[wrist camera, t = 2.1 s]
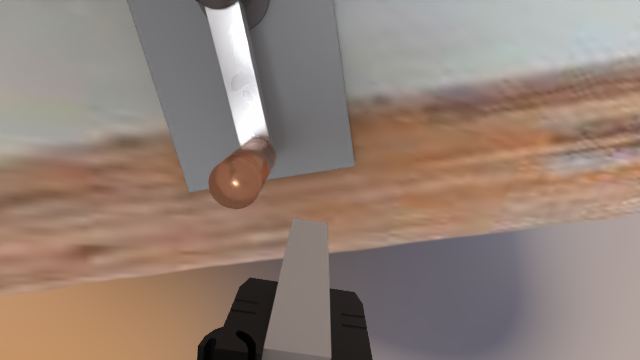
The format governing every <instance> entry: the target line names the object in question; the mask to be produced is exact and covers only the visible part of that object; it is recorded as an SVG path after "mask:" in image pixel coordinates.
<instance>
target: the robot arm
mask: <svg viewBox="0 0 640 360" xmlns="http://www.w3.org/2000/svg"><path fill="white" fill-rule="evenodd" d="M197 360H372V354H371V349H370V343H369V337H368V332H367V326H366V321H365V315H364V309H363V304H362V302H361V301H360V299H359V298H358V296H357V295H356V294H355V292H350V291H343V290H337V289H330V288H329V256H328V224H327V223H321V222H314V221H308V220H302V219H295V218H293V220H292V224H291V229H290V233H289V238H288V242H287V246H286V251H285V255H284V260H283V265H282V269H281V273H280V277H279V282H276V281H269V280H262V279H256V278H249V279H248V280H247V281H246V282H245V283H244V284H242V285H241V286H240V287H239V290H238V292H237V295H236V297H235V300H234V302H233V304H232V307H231V310H230V312H229V314H228V317H227V319H226V321H225V324H224V326H223V327H221V328H218V329H215V330H213V331H212V332H210V333H209V334H208V335H206V336H205V337H204V338H203V340H202V341H201V343H200V344H199V345H198V356H197Z"/></svg>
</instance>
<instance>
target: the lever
mask: <svg viewBox="0 0 640 360" xmlns="http://www.w3.org/2000/svg"><path fill="white" fill-rule="evenodd" d="M195 1H197V2H198V3H200V4H201V5H203V6H205V9H206V13H207V17H208V21H209V25H210V29H211V33H212V37H213V41H214V45H215V48H216V52H217V56H218V60H219V64H220V68H221V72H222V76H223V80H224V84H225V88H226V92H227V96H228V100H229V104H230V107H231V111H232V115H233V119H234V123H235V127H236V131H237V135H238V139H239V143H240V147H239V148H238V149H237V150H235V151H234V152H233V153H232V154H231V155H229V156H228V157H227V158H226V159H224V160H223V161H222V162H221V163H220V164H218V165H217V166H216V167H215V168H214V169H213V170H212V171H211V173H210V176H209V180H208V185H209V190H210V193H211V194H212V196H213V198H214V199H215V200H216V201H217V202H218V203H220V204H221V205H223V206H225V207H228V208H232V209H240V208H244V207H247V206H249V205H250V204H252V203H253V202H254V200H255V199H256V198H257V196H258V194H259V192H260V190H261V189H262V187H263V185H264V183H265V181H266V180H267V178H268V176H269V174H270V173H271V171H272V169H273V167H274V165H275V163H276V152H275V147H274V143H273V138H272V134H271V129H270V124H269V120H268V115H267V111H266V106H265V101H264V97H263V92H262V88H261V83H260V78H259V74H258V69H257V65H256V60H255V56H254V51H253V46H252V42H251V37H250V33H249V28H248V23H247V19H246V14H245V10H244V4H245V2H246V1H247V0H195Z"/></svg>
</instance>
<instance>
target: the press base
mask: <svg viewBox="0 0 640 360" xmlns="http://www.w3.org/2000/svg"><path fill="white" fill-rule="evenodd" d="M127 2H128V5H129V8H130V11H131V14H132V17H133V20H134V23H135V26H136V29H137V32H138V36H139V39H140V42H141V45H142V48H143V51H144V54H145V57H146V60H147V63H148V66H149V69H150V72H151V76H152V79H153V82H154V85H155V88H156V91H157V94H158V97H159V100H160V103H161V106H162V109H163V112H164V116H165V119H166V122H167V125H168V128H169V131H170V134H171V137H172V140H173V143H174V146H175V149H176V153H177V156H178V159H179V162H180V165H181V168H182V171H183V174H184V177H185V180H186V183H187V186H188V189H189V192H194V191H200V190H206V189H209V185H208V180H209V176H210V173H211V171H212V170H213V169H214V168H215V167H216V166H217V165H218V164H220V163H221V162H222V161H223V160H224V159H226V158H227V157H228V156H229V155H231V154H232V153H233V152H234V151H235V150H237V149H238V148H239V147H240V143H239V139H238V135H237V131H236V127H235V123H234V119H233V115H232V111H231V107H230V104H229V100H228V96H227V92H226V88H225V84H224V80H223V76H222V72H221V68H220V64H219V60H218V56H217V52H216V48H215V45H214V41H213V37H212V33H211V29H210V25H209V21H208V17H207V13H206V9H205V6H203V5H201V4H200V3H198V2H197V1H195V0H127ZM244 10H245V14H246V19H247V23H248V28H249V33H250V37H251V42H252V46H253V51H254V56H255V60H256V65H257V69H258V74H259V78H260V83H261V88H262V92H263V97H264V101H265V106H266V111H267V115H268V120H269V124H270V129H271V134H272V138H273V143H274V147H275V152H276V163H275V165H274V167H273V169H272V171H271V173H270V174H269V176H268V178H267V180H270V179H277V178H283V177H289V176H296V175H302V174H308V173H315V172H321V171H328V170H334V169H340V168H347V167H353V166H355V162H354V155H353V147H352V140H351V132H350V125H349V117H348V110H347V102H346V95H345V87H344V80H343V73H342V65H341V58H340V50H339V43H338V35H337V28H336V20H335V13H334V5H333V0H247V1H246V2H245V4H244Z"/></svg>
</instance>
